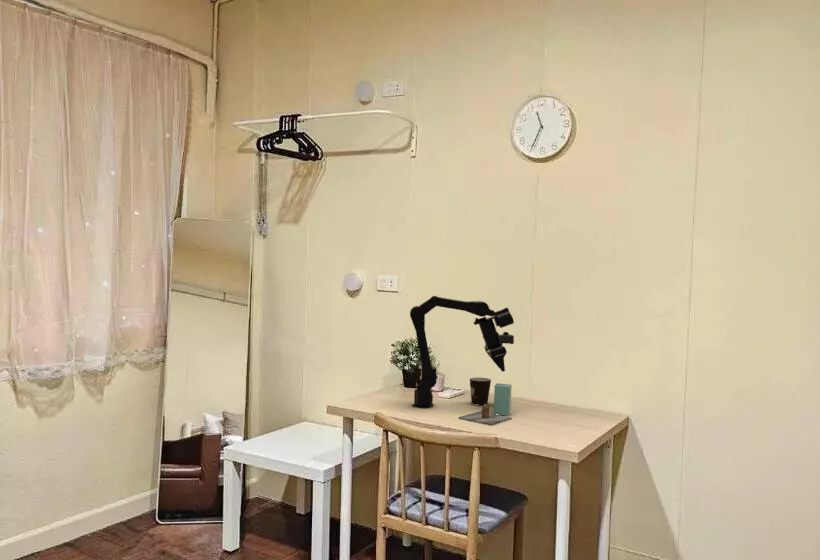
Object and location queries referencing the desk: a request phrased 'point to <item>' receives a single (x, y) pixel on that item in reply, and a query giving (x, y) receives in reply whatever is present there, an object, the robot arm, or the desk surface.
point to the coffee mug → (479, 390)
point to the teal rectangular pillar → (502, 399)
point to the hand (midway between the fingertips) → (501, 369)
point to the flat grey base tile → (485, 417)
